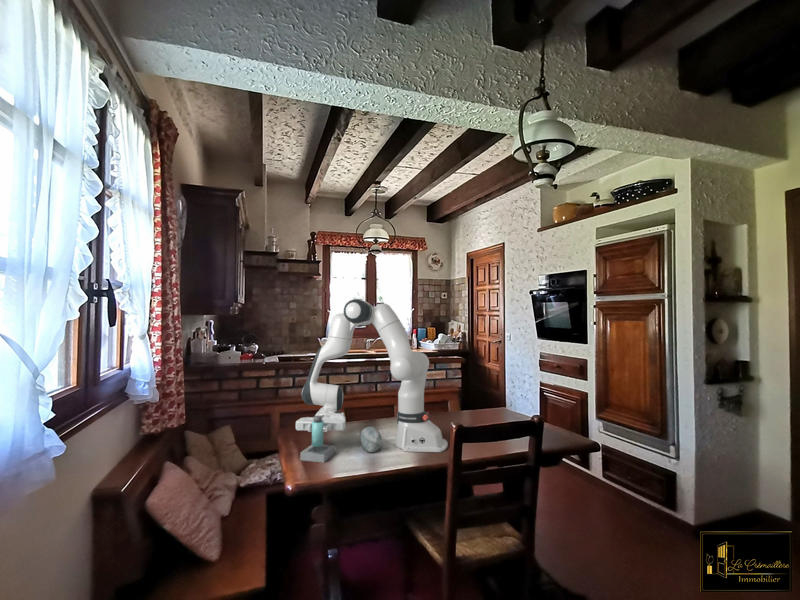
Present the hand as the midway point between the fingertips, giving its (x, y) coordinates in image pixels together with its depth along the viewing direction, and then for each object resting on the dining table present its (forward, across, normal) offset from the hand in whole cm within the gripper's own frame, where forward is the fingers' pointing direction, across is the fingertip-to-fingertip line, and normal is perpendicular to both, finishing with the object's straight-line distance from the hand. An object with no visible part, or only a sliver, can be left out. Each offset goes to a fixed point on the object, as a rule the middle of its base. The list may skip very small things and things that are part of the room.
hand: (317, 430), depth 153 cm
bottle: (-1, 0, +6) cm, 6 cm away
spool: (-10, +20, +11) cm, 25 cm away
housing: (-1, 0, +11) cm, 11 cm away
